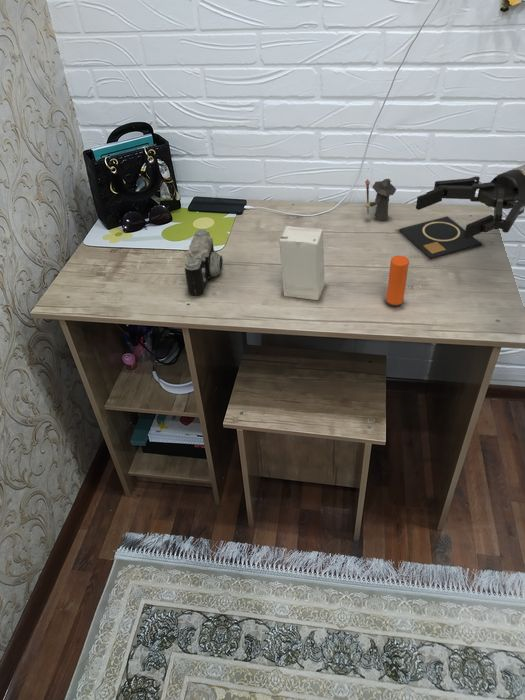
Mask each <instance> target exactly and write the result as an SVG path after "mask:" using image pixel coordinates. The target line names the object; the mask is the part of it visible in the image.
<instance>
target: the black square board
mask: <svg viewBox="0 0 525 700" xmlns="http://www.w3.org/2000/svg"><path fill="white" fill-rule="evenodd" d="M465 230H466V229H464V228H463V227H462V226H460V225H459V224H458V223H457V222H455V221H454V220H452V218H450V216H444V217H440V218H437V219H433V220H429V221H424V222H421V223H416V224H413V225H409V226H405V227H402V228H399V229H398V231H399V232H400V233H401V234H402V235H403V236H404V237H405V238H406V239H407V240H408V241H410V242H411V244H413V245H414V246H415V247H416V248H417V249H418V250H419V251H421V252H422V253H423V254H424V255H425V256H426V257H427V258H428V259H430V260H432V259H436V258H440V257H443V256H447V255H451V254H454V253H458V252H462V251H465V250H469V249H472V248H476V247H480V246H481V245H482V242H480V241H479V240H478V239H477V238H476V237H474V236H472V237H470V238H468V239H466V238H464V234H465Z"/></svg>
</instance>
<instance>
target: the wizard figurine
mask: <svg viewBox="0 0 525 700" xmlns="http://www.w3.org/2000/svg"><path fill="white" fill-rule="evenodd" d="M391 182H392V180H391V179H390V178H384V179H383V180H380V181H379V180H377V181H375V182H374V183H373V185H372V189H373V190H374V191H375V193H376V195H375V199H374V201H370V202H369V200H370V197H369V196H370V187H369V186H370V184H371V183H370V180H369V179H366V180H365V182H364V183H365V186H366V188H365V189H366V204H365V208H366V209H367V211H366V212H367V213H369V208H372V207H375V206H376V208H375V211H374V215H373V216H374V219H375V220H377V221H387V220H388V218H389V202H390V196H393V195H394V194H395V192H396V191H397V188H396V187H395V186H394V185H393V183H391Z"/></svg>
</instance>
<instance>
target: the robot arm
mask: <svg viewBox="0 0 525 700" xmlns="http://www.w3.org/2000/svg"><path fill="white" fill-rule="evenodd" d="M480 179H481V177H480V176H477V175H475V176H472V177H469V178H458V179H457V178H455V179H446V180H436V181H434V184H433V185H434V186H433V189H432V190H429V191H427V192H425V193H424V194H421V195H418V196H417V198H416V205H415V210H417V211H419V210H422V209H425V208H427V207H430V206H432V205H433V206H434V205H435V204H438V203H440V202H442V201H443V199H445V200H447V199H449V200H450V199H453V200H470V202H473V203H475V202H477V203H481V204H484V205H485V206H486V207H488V208H493V215H492V214H489V215H487V216H484V217H482V218H480V219H477V220H475V221H473V222H470V223H468V224H466V225H465V229H464V230H465V234H464V238H466V239H468V238H470V237H472V236H473V237H474V236H478V235H479V234H481V233H483V234H485V233H489V232H491V231H493V230H497V231H498V230H499V229H500V230H501V231H502V233H506V234H507V233H509V232H510V230H511V228H512V227H513V225H514V223H515V222H516V220H517V218H518V217H519V216H520V215H522V214H524V213H525V164H522V165H519V166H516V167H514V168H512V169H509V170H507V171H504V172H501V173H499V174H497V175H495V177H494V178H493V179H492V180H491V181H489V182H481V181H480ZM477 190H478V192H477ZM476 193H477V196H476ZM503 210H509V212H508V214H507V215H506V217H505V219H504V218H503V216H504V214H503Z"/></svg>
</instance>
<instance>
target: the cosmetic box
mask: <svg viewBox="0 0 525 700" xmlns="http://www.w3.org/2000/svg"><path fill="white" fill-rule="evenodd" d="M278 242H279V254H280V266H281V275H282V276H281V277H282V278H281V279H282V288H283V296H284V297H292V298H298V299H304V300H305V299H307V300H313V301H319V300H320V297H321V296H322V295H321V294H322V292H323V289H324V287H325V255H324V254H325V253H324V251H325V250H324V249H325V248H324V247H325V246H324V229H323V228H315V227H303V226H302V227H301V226H290V225H286V227H285V228H284V231H283V232H282V235H281V237H280V238H279V240H278Z"/></svg>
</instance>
